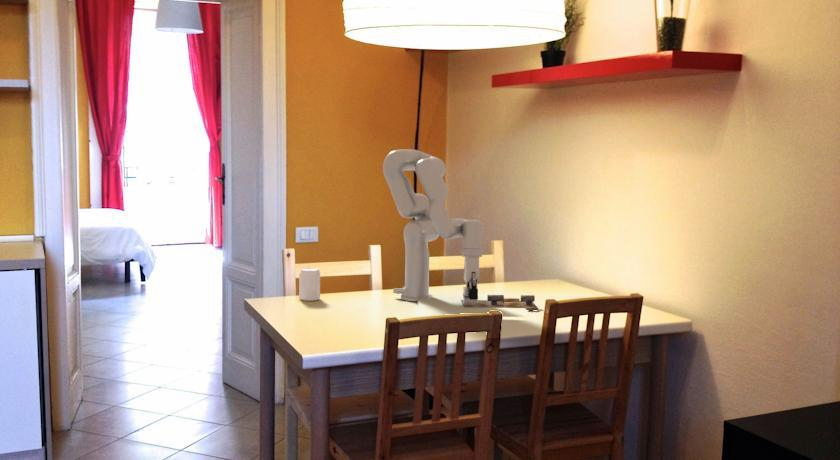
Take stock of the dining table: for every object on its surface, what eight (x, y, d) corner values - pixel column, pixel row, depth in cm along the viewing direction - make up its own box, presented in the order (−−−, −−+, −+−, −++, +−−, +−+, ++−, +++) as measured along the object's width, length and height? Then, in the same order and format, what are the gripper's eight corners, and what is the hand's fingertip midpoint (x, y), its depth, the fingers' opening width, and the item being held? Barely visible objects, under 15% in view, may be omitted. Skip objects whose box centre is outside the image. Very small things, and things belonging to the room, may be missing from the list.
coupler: (464, 304, 303) (464, 289, 302) (462, 302, 308) (463, 286, 307) (477, 305, 303) (478, 289, 302) (476, 302, 308) (476, 286, 307)
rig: (464, 310, 299) (464, 297, 298) (460, 302, 312) (461, 290, 311) (538, 311, 300) (538, 298, 300) (531, 303, 313) (532, 291, 313)
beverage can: (322, 297, 316) (322, 267, 314) (317, 302, 308) (317, 271, 306) (301, 296, 316) (302, 267, 315) (296, 301, 308) (296, 270, 307)
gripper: (460, 249, 311) (459, 292, 313) (464, 255, 294) (464, 301, 296) (479, 249, 312) (479, 292, 313) (484, 255, 294) (484, 301, 296)
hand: (471, 296), depth 305 cm, fingers open, 9 cm apart
